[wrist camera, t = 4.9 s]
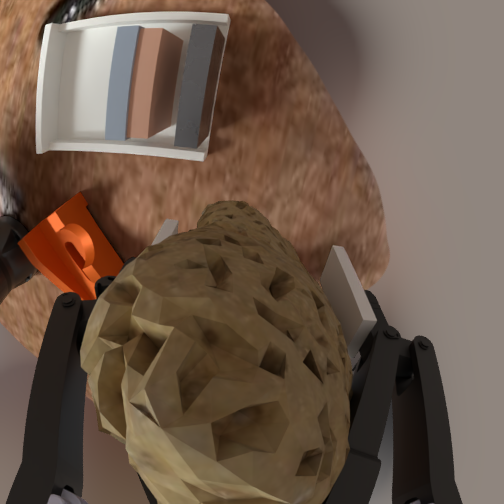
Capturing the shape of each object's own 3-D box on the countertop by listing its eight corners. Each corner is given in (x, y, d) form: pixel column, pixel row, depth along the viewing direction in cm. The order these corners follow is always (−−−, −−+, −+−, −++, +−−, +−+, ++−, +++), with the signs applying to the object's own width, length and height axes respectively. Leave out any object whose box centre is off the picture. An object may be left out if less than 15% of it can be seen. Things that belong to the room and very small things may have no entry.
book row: (136, 126, 36) (104, 139, 27) (148, 38, 29) (117, 26, 21) (170, 128, 36) (145, 142, 28) (183, 38, 30) (161, 24, 21)
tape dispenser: (41, 221, 45) (17, 243, 38) (81, 190, 42) (55, 211, 35) (92, 291, 54) (76, 319, 46) (136, 272, 51) (120, 302, 44)
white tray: (55, 144, 37) (36, 153, 32) (65, 27, 27) (45, 24, 22) (207, 155, 39) (200, 165, 35) (230, 20, 29) (227, 10, 24)
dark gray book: (190, 133, 36) (174, 146, 29) (205, 36, 29) (192, 23, 22) (208, 135, 36) (196, 148, 29) (225, 38, 29) (217, 25, 22)
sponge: (328, 266, 24) (391, 523, 7) (244, 297, 26) (232, 540, 9) (261, 115, 18) (304, 560, 1) (162, 167, 20) (-34, 444, 3)
